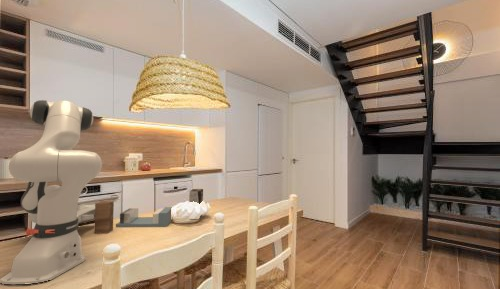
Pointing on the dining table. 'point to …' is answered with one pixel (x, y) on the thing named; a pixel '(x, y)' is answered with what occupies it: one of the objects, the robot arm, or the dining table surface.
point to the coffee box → (196, 195)
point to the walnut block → (104, 216)
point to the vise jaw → (129, 215)
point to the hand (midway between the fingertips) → (99, 214)
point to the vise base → (151, 219)
